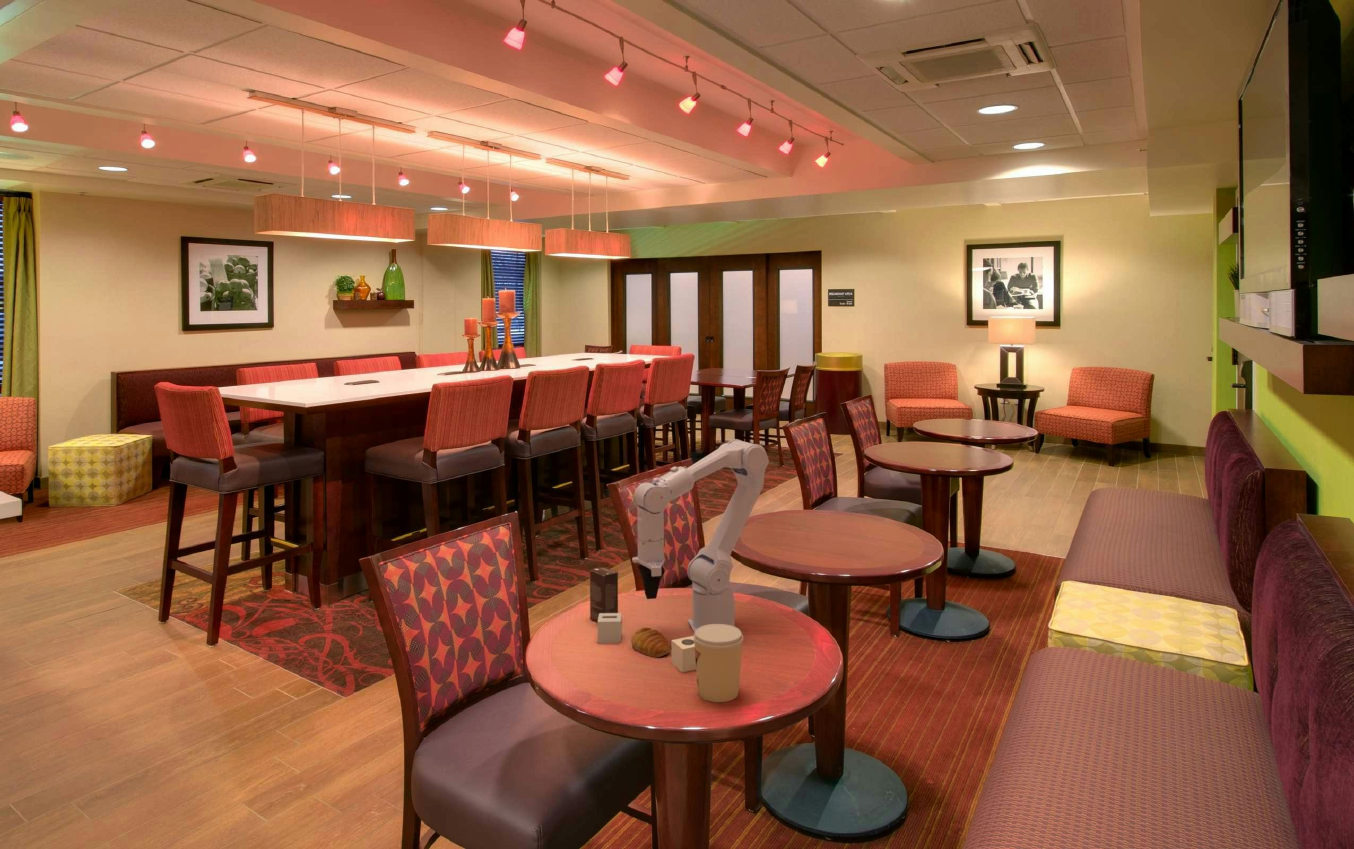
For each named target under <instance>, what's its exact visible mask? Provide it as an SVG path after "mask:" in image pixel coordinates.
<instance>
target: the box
mask: <svg viewBox="0 0 1354 849" xmlns="http://www.w3.org/2000/svg"><path fill="white" fill-rule="evenodd" d="M589 599H590V600H589V618H590V619H591V620H593V621H595V622H597V623H598V617H599V613H619V572H618V571H614V570H613V569H610V568H607V567H605V566H603V567H602V566H601V567H597V568H593V569H590V570H589Z"/></svg>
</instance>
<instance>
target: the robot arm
mask: <svg viewBox="0 0 1354 849" xmlns="http://www.w3.org/2000/svg"><path fill="white" fill-rule="evenodd" d="M769 463H770V460H769V457H768V455H767V451H766V450H765V448H764V447H763V446H762V445H761V444H757V443H751V442H747V441H743V440H741V439H738V438H734V439H731V440H729V441H728V442H725V443H723V444H721V445H720V446H719V447H718V448H717V449H715V450H714V451H712V452H711V453H709V454H708V455H705V456H704V457H703V458H701V459H699V460H698V461H697V462H695V463H693V464H692V465H690V466H688V467H684V466H673V467H671V468H669V469H670V470H669V472H666V473H665V474H663V475H660V477H654V478H652V481H651V482H643V483H640V484H639V485H637V488H636V489H635V491H634V494H632V502H633V503H634V504H635V506H636V508H637V556H633V557H632V563H634V564H636V563H637V564H638V565H637V566H636V568H637V570H638V572H639V573H640V576H641V580H642V584H643V590H644V593H645V597H646V600H655V599H657V597H658V593H659V589H660V588H659V587H660V582H661V580H662V578H663V576H664V575H665V571H666V568H664V563H665V561H666V557H665V549H664V548H665V546H664V545H665V539H664V538H665V535H664V534H665V528H664V526H665V524H664V523H665V522H664V518H665V517H664V511H665V510H666V509H667V507H668V505H669V503H670V502H672V501H673V500H675V499H677V498H679V497H680V496H682V495H684V494H686V493H688V492H689V491H691V490H693V488H694V485H695V482H697V481H699V480H701V479H702V478H705V477H706V476H707V477H708V476H709V475H712V474H713V473H715V472H717V471H720V470H722V469H723V468H730V470H731V471H732V472H733V474H734V476H735V478H736V481H737V486H736V487H735V490H734V492H733V494H732V496H731V499H730V501H729V503H727V507H726V509H725V510H724V512H723V514H722V517H721V518H720V521H719V522H718V525H717V527H716V528H715V531H714V533H713V535H712V536H711V539H710V541H709V543H708V544H707V545H705V546H703V547H702V548H700V549H699V551H698V553H697V555H695V557H693V559H692V560H690V561H689V563H688V566H687V569H686V570H687V571H686V572H687V577H688V579H689V580H691V582H692V584H691V586H692V618H689V619H687V622H688V624H689V625H690V627H691V629H692V631H693V634H694V633H695V631H696V630H697V629H698V628H699V627H701V626H704V625H709V624H726V625H731V626H734V627H736V625H735V624H736V623H735V618H736V615H735V614H736V611H735V610H736V609H735V608H736V607H735V606H736V602H735V594H734V591H733V588H731V587H728V586H729V584H730V581H731V580H730V579H731V573H732V569H733V567H734V564H733V562H732V557H731V555H732V552H733V550H734V548H735V546H736V545H737V542H738V540H739V538H740V536H741V534H742V532H743V530H744V528H745V525H746V523H747V521H748V519H749V517H750V515H751V514H752V513H751V512H752V511H753V509H754V507H755V505H756V503H757V500H758V498H759V496H760V495H761V492H762V490H763V488H764V486H765V474H766V469H767V467H768V465H769Z"/></svg>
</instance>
